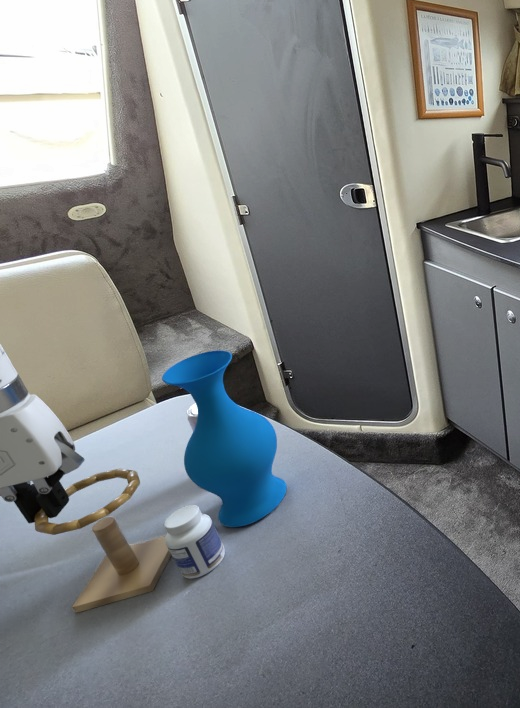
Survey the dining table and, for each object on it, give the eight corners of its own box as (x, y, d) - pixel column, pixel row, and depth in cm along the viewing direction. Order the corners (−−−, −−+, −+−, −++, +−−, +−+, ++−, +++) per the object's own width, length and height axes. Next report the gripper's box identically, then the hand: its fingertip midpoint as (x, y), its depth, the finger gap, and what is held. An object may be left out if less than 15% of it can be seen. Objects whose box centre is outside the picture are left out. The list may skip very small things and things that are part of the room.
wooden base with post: (75, 613, 68) (41, 562, 65) (111, 556, 76) (83, 508, 73) (153, 590, 71) (124, 540, 67) (180, 538, 79) (156, 490, 75)
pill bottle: (222, 540, 78) (201, 494, 75) (229, 562, 75) (207, 515, 71) (180, 563, 75) (155, 516, 71) (184, 587, 71) (159, 539, 67)
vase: (301, 467, 92) (256, 337, 81) (284, 522, 81) (229, 380, 70) (227, 486, 89) (169, 353, 78) (198, 546, 77) (127, 400, 67)
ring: (15, 546, 62) (11, 539, 62) (68, 484, 72) (64, 478, 71) (116, 522, 65) (112, 515, 65) (154, 466, 74) (151, 459, 74)
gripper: (-138, 438, 55) (-49, 555, 62) (39, 404, 59) (104, 516, 66) (-77, 398, 61) (-3, 507, 68) (78, 370, 66) (133, 475, 73)
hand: (49, 511), depth 67 cm, fingers closed on ring, 1 cm apart
